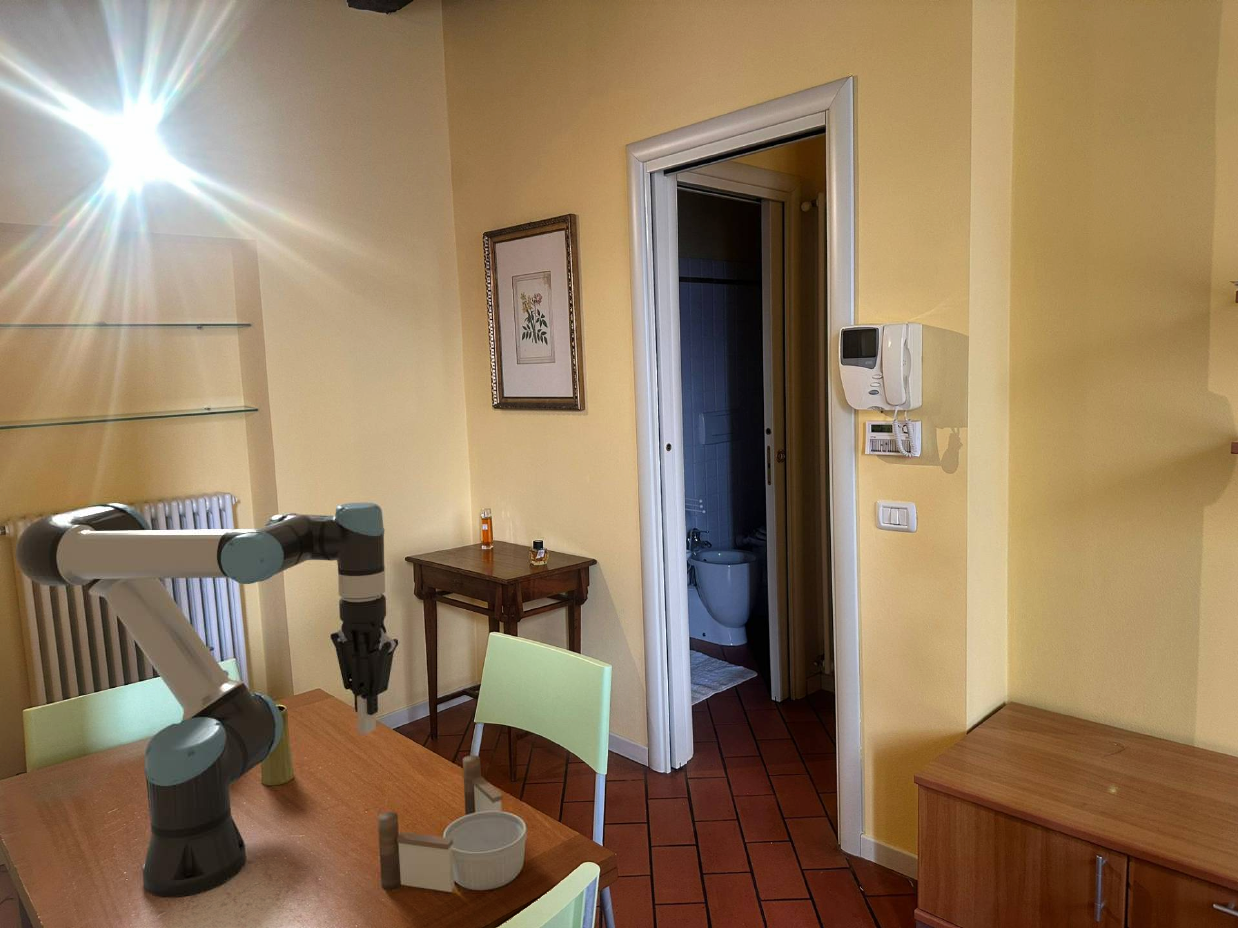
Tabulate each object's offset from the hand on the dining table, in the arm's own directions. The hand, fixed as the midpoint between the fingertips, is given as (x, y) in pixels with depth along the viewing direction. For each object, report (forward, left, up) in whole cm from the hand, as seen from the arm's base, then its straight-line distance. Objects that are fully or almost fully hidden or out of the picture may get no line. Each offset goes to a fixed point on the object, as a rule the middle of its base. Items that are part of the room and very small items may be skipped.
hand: (367, 730), depth 152 cm
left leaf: (-9, -19, -18) cm, 28 cm away
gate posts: (+1, -13, -19) cm, 23 cm away
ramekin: (-1, -24, -19) cm, 31 cm away
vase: (+9, +32, -19) cm, 39 cm away
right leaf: (+9, -18, -18) cm, 27 cm away
